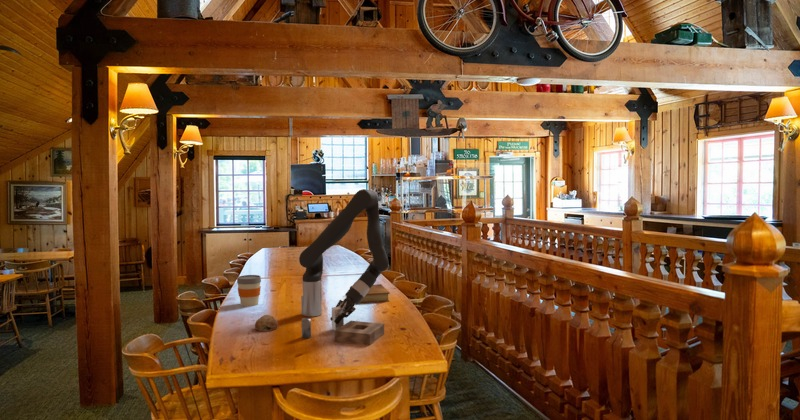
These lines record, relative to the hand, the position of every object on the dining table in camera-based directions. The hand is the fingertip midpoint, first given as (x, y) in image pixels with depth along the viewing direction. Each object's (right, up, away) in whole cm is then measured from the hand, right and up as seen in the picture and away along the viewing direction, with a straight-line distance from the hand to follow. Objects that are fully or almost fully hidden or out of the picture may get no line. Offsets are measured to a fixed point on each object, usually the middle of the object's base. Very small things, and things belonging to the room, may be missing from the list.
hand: (333, 321), depth 232 cm
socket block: (+13, -5, -10) cm, 17 cm away
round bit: (-11, -5, -9) cm, 15 cm away
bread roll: (-32, -4, +5) cm, 32 cm away
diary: (+12, -1, +63) cm, 64 cm away
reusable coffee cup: (-52, -2, +50) cm, 72 cm away
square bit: (+2, -4, +1) cm, 5 cm away
